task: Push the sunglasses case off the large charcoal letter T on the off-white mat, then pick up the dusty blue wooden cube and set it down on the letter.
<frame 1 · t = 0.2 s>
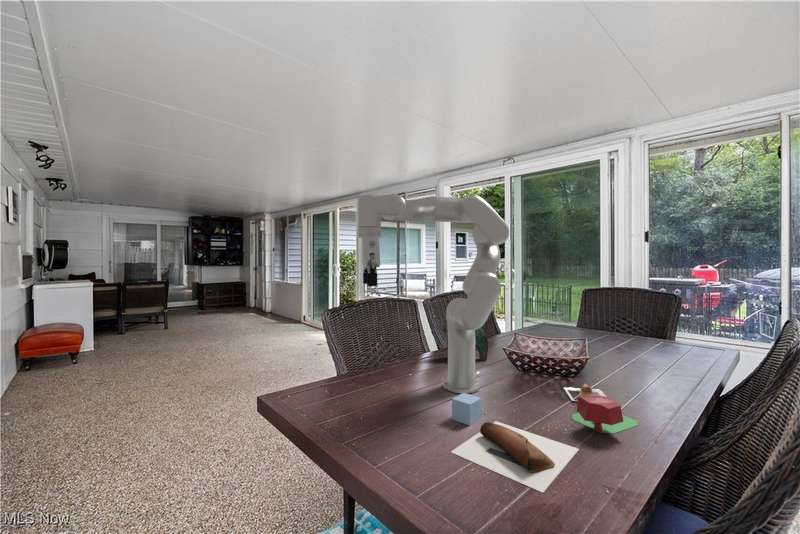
hand: (370, 284, 121), 37 cm above the table, tool pointing down, fingers open, 9 cm apart
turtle: (601, 424, 102), on the table
letter mat: (515, 450, 87), on the table
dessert: (586, 398, 121), on the table
blue cube: (466, 419, 105), on the table
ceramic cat: (465, 359, 166), on the table
sunglasses case: (515, 451, 87), resting on letter mat
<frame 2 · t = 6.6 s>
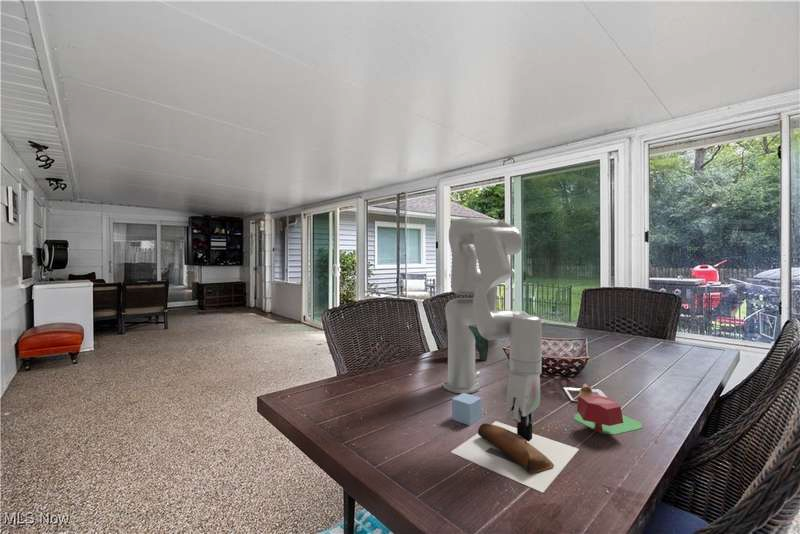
hand: (524, 438, 91), 1 cm above the table, tool pointing down, fingers closed
sunglasses case: (513, 452, 87), resting on letter mat, touching gripper
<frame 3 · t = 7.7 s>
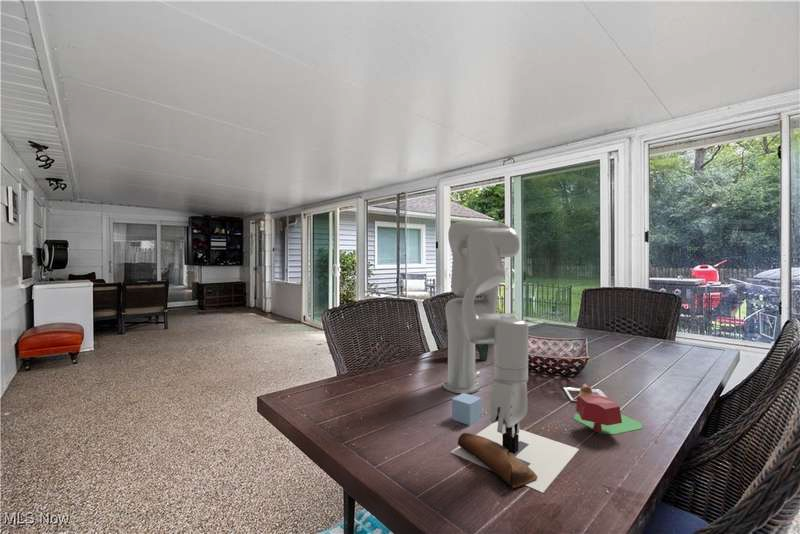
hand: (510, 450, 85), 1 cm above the table, tool pointing down, fingers closed
sunglasses case: (495, 463, 82), resting on letter mat, touching gripper
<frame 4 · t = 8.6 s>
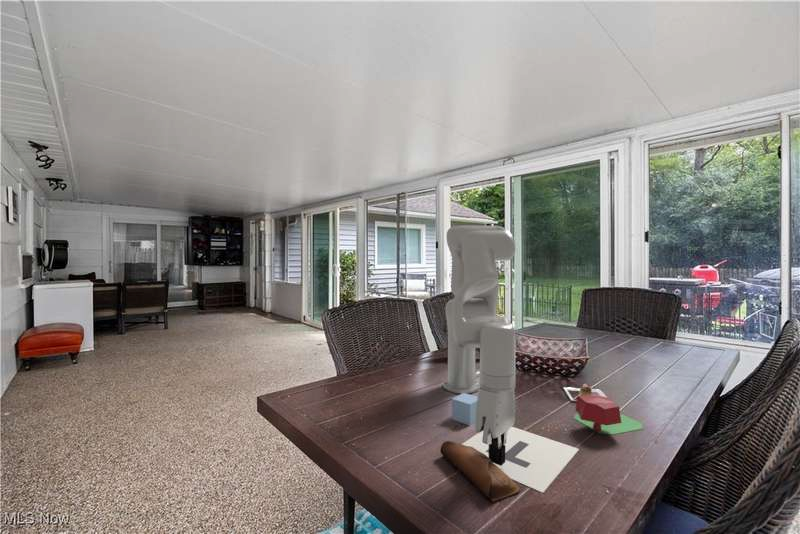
hand: (496, 461, 81), 1 cm above the table, tool pointing down, fingers closed
sunglasses case: (477, 473, 79), on the table, touching gripper, letter mat
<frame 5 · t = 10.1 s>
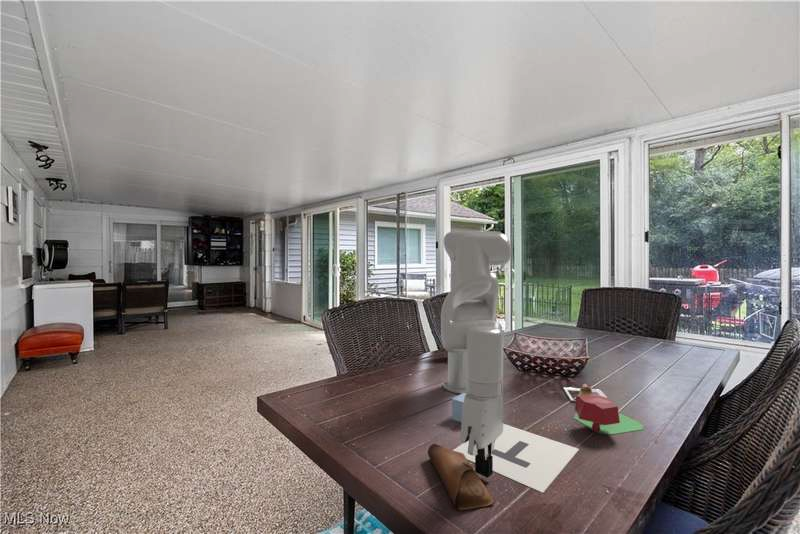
hand: (483, 473, 77), 1 cm above the table, tool pointing down, fingers closed
sunglasses case: (458, 480, 76), on the table, touching gripper, letter mat
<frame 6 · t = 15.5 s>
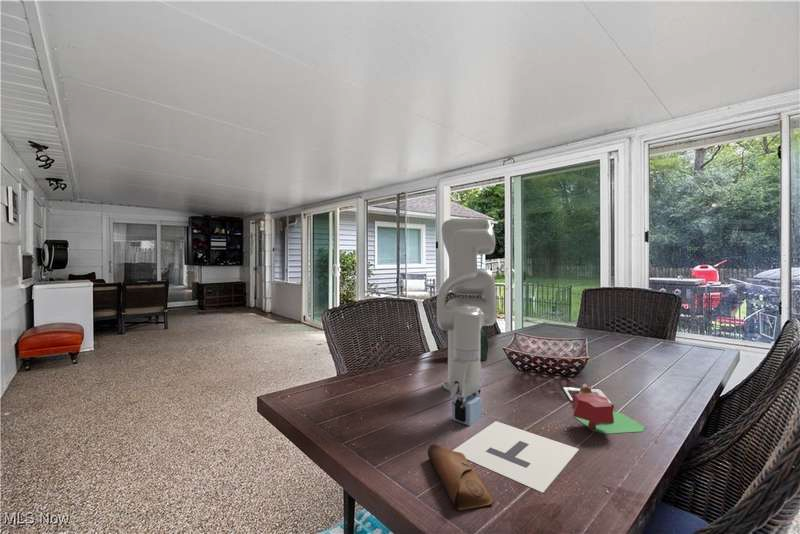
hand: (466, 415, 105), 1 cm above the table, tool pointing down, fingers closed on blue cube, 6 cm apart
blue cube: (466, 418, 105), on the table, touching gripper
sunglasses case: (457, 480, 76), on the table, touching letter mat
when the fingers open (2 cm above the table, at t = 22.1 s): blue cube drops 1 cm, resting on letter mat.
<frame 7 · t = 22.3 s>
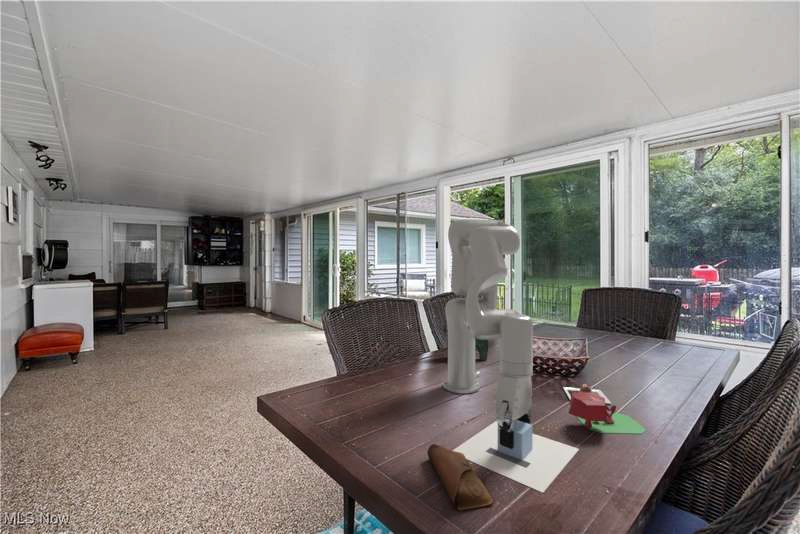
hand: (515, 439, 87), 3 cm above the table, tool pointing down, fingers open, 8 cm apart
blue cube: (515, 450, 87), resting on letter mat
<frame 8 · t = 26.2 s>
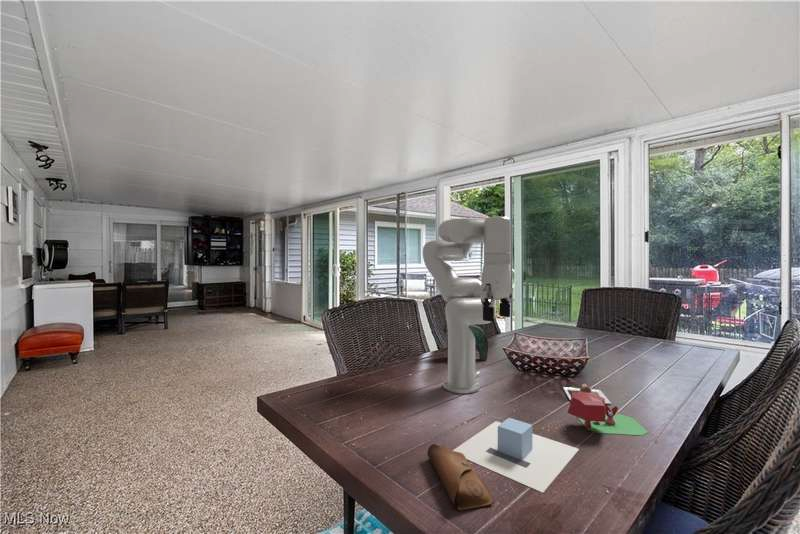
hand: (496, 318, 106), 28 cm above the table, tool pointing down, fingers open, 9 cm apart
at the end: sunglasses case inside the target area on the table beside the letter mat (6.0 cm from its centre), on the table; blue cube 0.0 cm off-centre on the letter mat, point 0.1 cm above the letter mat's base; blue cube tilted 0° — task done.
